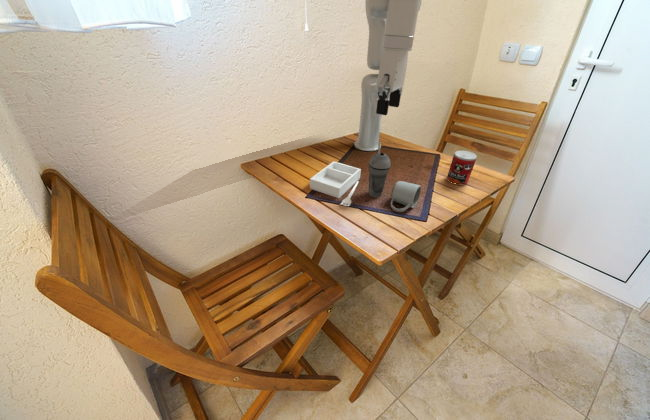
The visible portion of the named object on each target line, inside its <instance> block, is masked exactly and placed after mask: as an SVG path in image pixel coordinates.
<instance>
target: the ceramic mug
mask: <svg viewBox="0 0 650 420" xmlns="http://www.w3.org/2000/svg"><path fill="white" fill-rule="evenodd" d="M421 191H422V186H421V185H420V184H415V183H411V182H407V181H404V180H398V181H396V182H395V183H394V184H393V186H392V188H391V191H390V207H391V209H392V210H393V211H395V212H398V213H403V212H405V211H407V210H408V209H409V208H411V209H414V208H415V207H416V206H415V205H417V204H418V202H419V200H420V196H421ZM394 202H395V203H399V204H401V205H403V206H404V207H401V208H396V207H395V206H394V205H393V203H394Z"/></svg>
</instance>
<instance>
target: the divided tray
mask: <svg viewBox="0 0 650 420" xmlns="http://www.w3.org/2000/svg"><path fill="white" fill-rule="evenodd" d="M361 171H362V169H361V168H358V167H355V166H351V165H348V164H345V163H342V162H338V161H332V162H330V163H329V164H328V165H326V167H324V168H323V169H321V170H319V172H317V173H316V174H314V175H313V176H311V178H309V189H310V190H313V191H316V192H319V193H323V194H325V195H328V196H331V197H334V198H337V199H340V198H341V197H342V196H343V195H344V194H345V193H346V192H347V191H348V190H350V188H352V186H354V185H355V184H356V183H357V181H359V180H360V179H361Z"/></svg>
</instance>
